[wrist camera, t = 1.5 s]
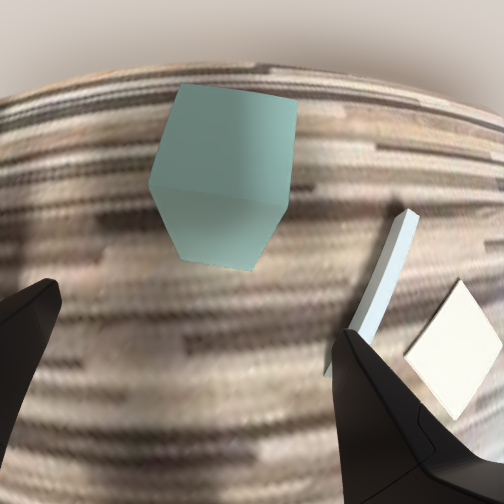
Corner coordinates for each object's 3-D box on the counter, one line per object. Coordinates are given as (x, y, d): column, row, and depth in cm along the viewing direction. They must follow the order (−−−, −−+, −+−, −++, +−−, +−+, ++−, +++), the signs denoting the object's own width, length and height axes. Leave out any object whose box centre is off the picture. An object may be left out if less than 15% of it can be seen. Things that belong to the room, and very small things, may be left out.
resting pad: (453, 420, 21) (455, 420, 21) (403, 357, 22) (405, 357, 22) (501, 345, 23) (503, 345, 23) (458, 280, 24) (460, 279, 24)
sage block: (251, 271, 23) (288, 206, 11) (180, 260, 22) (147, 185, 11) (260, 205, 24) (297, 100, 12) (194, 195, 24) (181, 83, 12)
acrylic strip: (337, 382, 21) (348, 387, 19) (323, 376, 21) (334, 379, 19) (405, 225, 25) (419, 216, 23) (394, 217, 25) (408, 208, 23)
